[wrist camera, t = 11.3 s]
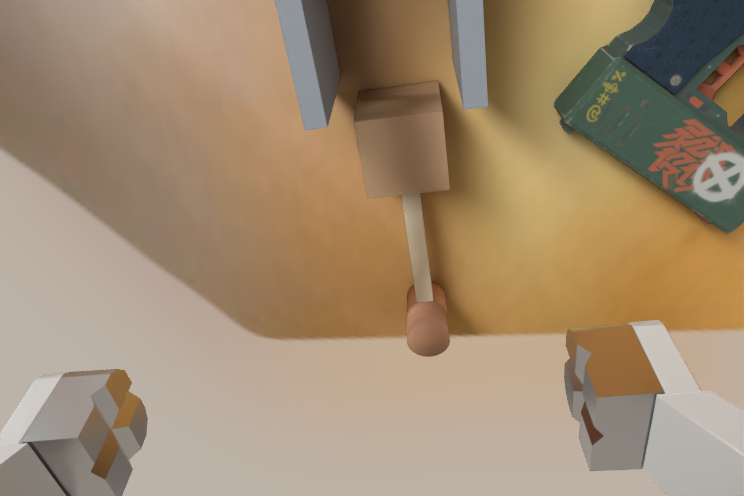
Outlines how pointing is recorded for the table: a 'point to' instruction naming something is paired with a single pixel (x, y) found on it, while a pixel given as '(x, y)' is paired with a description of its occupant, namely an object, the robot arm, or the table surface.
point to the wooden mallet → (408, 187)
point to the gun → (669, 104)
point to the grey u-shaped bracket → (320, 64)
